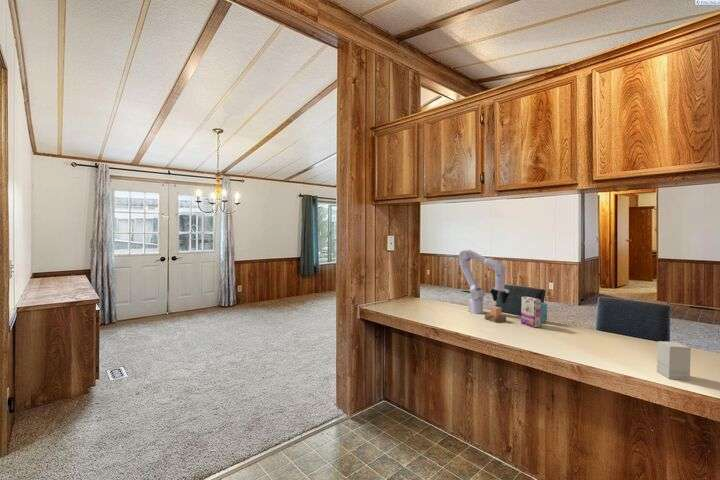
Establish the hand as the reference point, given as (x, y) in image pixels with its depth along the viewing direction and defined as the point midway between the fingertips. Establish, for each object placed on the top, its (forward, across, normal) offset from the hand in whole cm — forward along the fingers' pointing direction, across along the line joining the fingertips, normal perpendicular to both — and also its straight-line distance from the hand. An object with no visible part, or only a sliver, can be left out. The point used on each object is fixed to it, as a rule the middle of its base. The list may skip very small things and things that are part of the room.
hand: (499, 302), depth 232 cm
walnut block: (+10, +7, -10) cm, 16 cm away
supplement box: (+10, +99, -8) cm, 100 cm away
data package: (+10, +18, +12) cm, 24 cm away
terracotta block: (+6, +7, -10) cm, 14 cm away
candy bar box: (+10, +24, +1) cm, 26 cm away
